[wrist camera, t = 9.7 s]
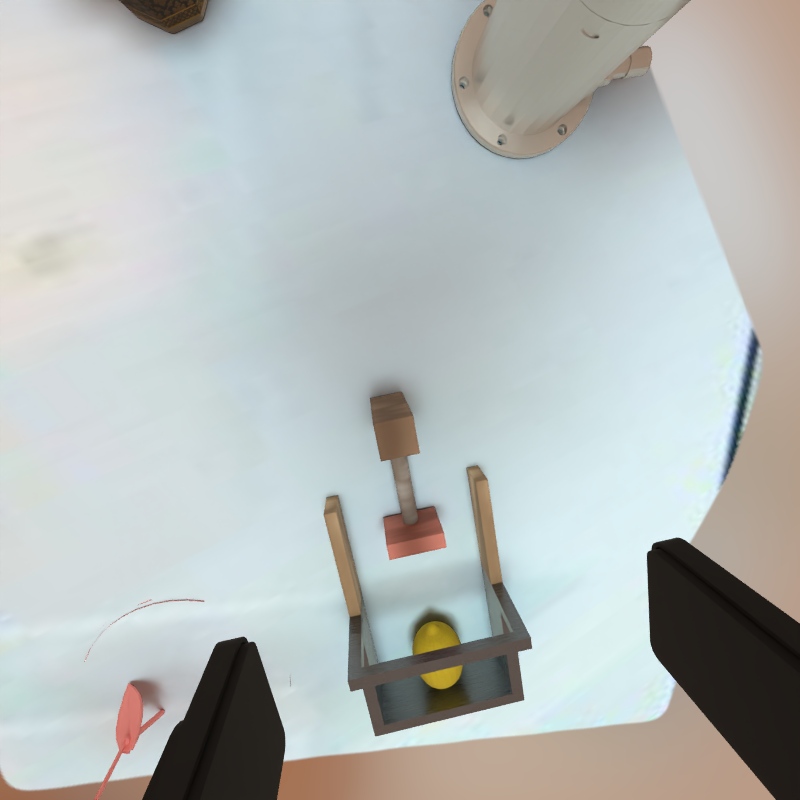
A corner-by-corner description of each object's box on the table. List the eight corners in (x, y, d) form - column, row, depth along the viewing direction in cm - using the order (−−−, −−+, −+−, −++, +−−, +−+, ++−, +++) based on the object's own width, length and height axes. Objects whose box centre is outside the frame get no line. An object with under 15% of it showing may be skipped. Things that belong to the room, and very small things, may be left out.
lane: (477, 465, 44) (487, 479, 40) (491, 561, 47) (502, 582, 43) (326, 497, 43) (323, 514, 39) (350, 593, 46) (349, 617, 42)
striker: (413, 389, 41) (427, 412, 32) (436, 519, 44) (455, 572, 36) (358, 400, 41) (358, 426, 32) (386, 530, 44) (392, 586, 35)
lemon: (401, 644, 43) (416, 703, 45) (453, 646, 41) (466, 707, 43) (412, 605, 48) (425, 659, 50) (458, 605, 46) (470, 661, 48)
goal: (491, 561, 47) (530, 637, 36) (505, 653, 50) (544, 748, 39) (350, 593, 46) (347, 680, 35) (373, 685, 49) (377, 791, 38)
